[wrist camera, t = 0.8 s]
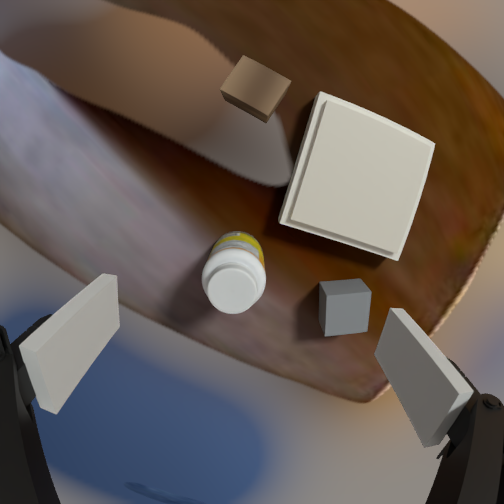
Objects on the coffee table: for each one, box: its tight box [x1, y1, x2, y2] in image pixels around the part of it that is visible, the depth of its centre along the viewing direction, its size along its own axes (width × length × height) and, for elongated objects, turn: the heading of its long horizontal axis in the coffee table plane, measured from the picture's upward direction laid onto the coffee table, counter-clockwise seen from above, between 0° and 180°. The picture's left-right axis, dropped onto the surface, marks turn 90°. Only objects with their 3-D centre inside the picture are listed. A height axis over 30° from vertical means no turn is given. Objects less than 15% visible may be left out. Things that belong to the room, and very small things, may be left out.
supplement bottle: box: [202, 232, 266, 314], centre depth 29 cm, size 6×6×10 cm
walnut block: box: [220, 55, 291, 123], centre depth 26 cm, size 5×4×5 cm
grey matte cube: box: [319, 279, 371, 336], centre depth 33 cm, size 5×5×4 cm
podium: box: [278, 92, 435, 261], centre depth 30 cm, size 14×14×3 cm
